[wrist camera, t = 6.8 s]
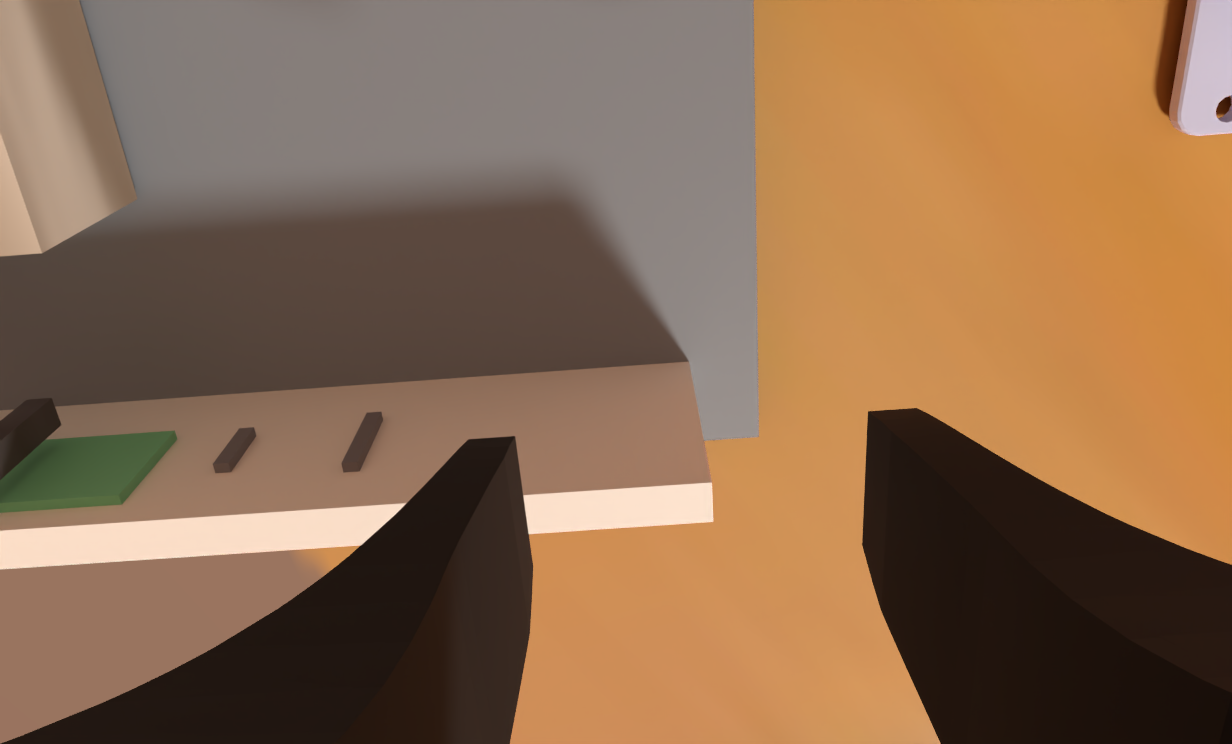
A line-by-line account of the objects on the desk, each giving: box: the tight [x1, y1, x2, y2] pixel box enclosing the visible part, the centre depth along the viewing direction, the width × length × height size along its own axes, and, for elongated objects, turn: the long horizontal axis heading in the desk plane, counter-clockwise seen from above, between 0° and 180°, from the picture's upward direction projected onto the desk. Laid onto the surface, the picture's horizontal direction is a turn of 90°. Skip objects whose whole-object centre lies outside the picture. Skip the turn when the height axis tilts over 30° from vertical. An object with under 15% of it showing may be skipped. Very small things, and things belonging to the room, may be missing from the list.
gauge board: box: [0, 0, 759, 569], centre depth 16 cm, size 22×20×6 cm
